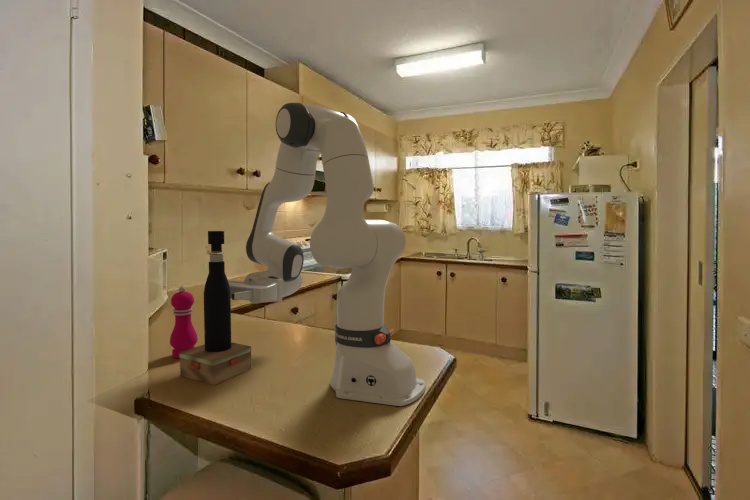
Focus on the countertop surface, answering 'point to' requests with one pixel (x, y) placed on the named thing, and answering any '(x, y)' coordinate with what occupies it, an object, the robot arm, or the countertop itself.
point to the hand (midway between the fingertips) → (220, 295)
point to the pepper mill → (182, 323)
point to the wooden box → (215, 363)
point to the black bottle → (217, 299)
